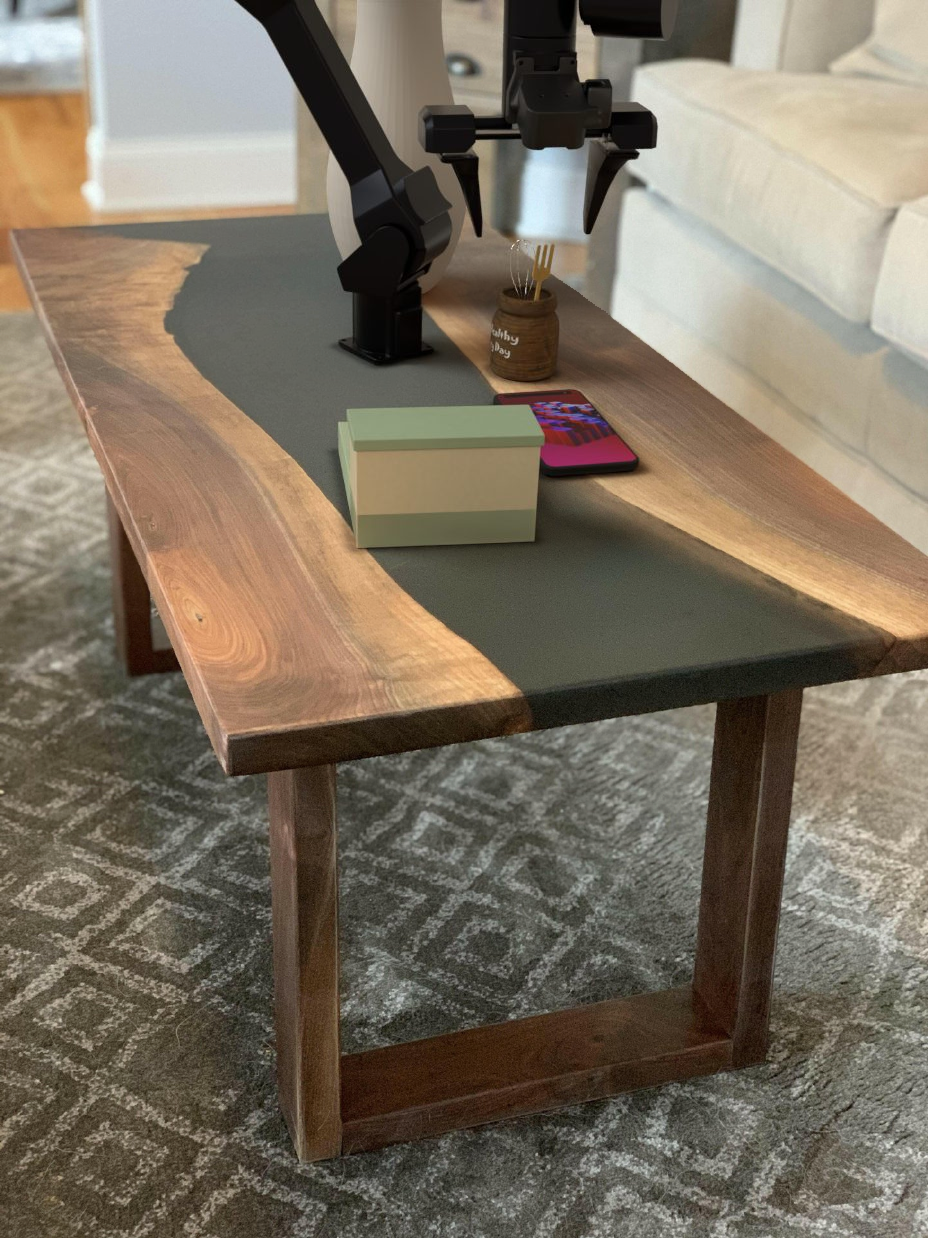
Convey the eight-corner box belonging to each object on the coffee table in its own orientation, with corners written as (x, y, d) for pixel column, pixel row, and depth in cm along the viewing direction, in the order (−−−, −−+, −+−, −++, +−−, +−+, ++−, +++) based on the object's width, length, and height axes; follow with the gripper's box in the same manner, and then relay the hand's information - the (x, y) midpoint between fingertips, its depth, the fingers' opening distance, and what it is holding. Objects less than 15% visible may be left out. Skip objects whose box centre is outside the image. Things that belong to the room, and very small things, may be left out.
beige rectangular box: (335, 452, 107) (334, 353, 103) (496, 447, 108) (501, 350, 105) (353, 549, 93) (353, 440, 89) (537, 542, 95) (545, 434, 91)
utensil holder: (540, 356, 127) (548, 222, 121) (568, 380, 122) (579, 242, 116) (479, 362, 125) (484, 226, 119) (505, 387, 120) (513, 246, 114)
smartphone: (545, 468, 103) (490, 393, 116) (544, 479, 104) (489, 403, 116) (643, 461, 105) (579, 387, 117) (642, 472, 105) (578, 397, 118)
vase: (312, 305, 138) (305, -31, 123) (347, 267, 149) (345, -44, 134) (449, 318, 136) (460, -22, 121) (474, 278, 147) (487, -36, 132)
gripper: (434, 49, 101) (434, 264, 109) (684, 46, 104) (667, 257, 112) (416, 29, 111) (417, 228, 119) (645, 27, 114) (632, 222, 121)
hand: (533, 234), depth 117 cm, fingers open, 9 cm apart
